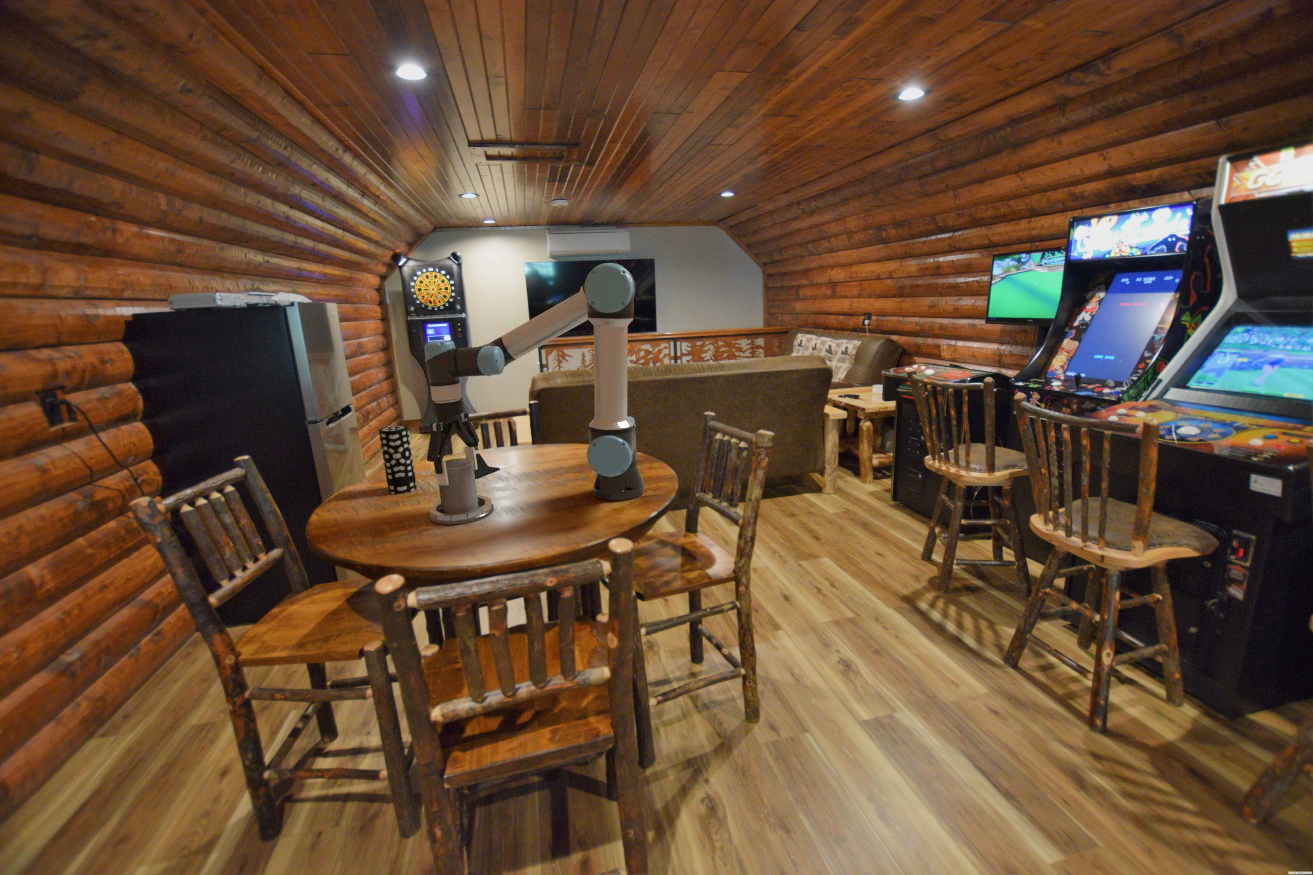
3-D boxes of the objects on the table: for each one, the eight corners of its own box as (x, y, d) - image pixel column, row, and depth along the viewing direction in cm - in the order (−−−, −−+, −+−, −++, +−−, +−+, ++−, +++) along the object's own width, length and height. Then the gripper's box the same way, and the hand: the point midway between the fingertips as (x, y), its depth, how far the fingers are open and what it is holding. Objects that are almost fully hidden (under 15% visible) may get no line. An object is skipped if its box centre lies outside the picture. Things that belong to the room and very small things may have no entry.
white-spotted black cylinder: (382, 492, 182) (372, 430, 177) (402, 484, 189) (393, 424, 184) (402, 495, 179) (392, 432, 174) (422, 486, 186) (413, 426, 181)
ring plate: (505, 504, 166) (504, 496, 166) (471, 527, 150) (470, 518, 150) (453, 501, 171) (452, 493, 170) (416, 523, 155) (414, 514, 154)
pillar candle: (440, 508, 163) (433, 457, 159) (476, 501, 167) (469, 451, 163) (444, 519, 154) (436, 466, 150) (482, 512, 158) (475, 460, 154)
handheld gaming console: (483, 474, 191) (466, 450, 192) (469, 487, 193) (452, 462, 194) (502, 469, 202) (487, 446, 203) (489, 481, 204) (473, 458, 205)
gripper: (462, 392, 166) (472, 463, 171) (403, 409, 142) (417, 491, 148) (485, 391, 164) (494, 463, 169) (429, 409, 140) (442, 492, 145)
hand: (458, 476), depth 158 cm, fingers open, 13 cm apart
